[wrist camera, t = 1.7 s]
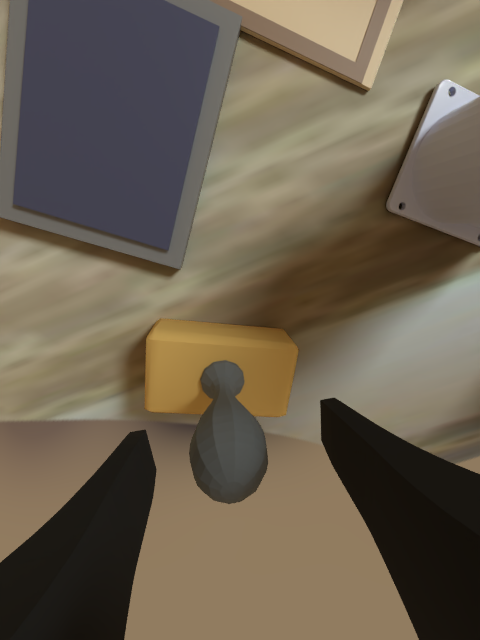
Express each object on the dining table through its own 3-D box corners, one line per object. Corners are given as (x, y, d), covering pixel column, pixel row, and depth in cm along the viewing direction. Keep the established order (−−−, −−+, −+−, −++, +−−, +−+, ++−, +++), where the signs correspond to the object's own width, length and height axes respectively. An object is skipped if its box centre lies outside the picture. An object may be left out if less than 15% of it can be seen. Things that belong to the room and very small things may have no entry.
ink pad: (240, 30, 15) (243, 12, 14) (181, 267, 19) (179, 269, 18) (29, -71, 13) (11, -102, 12) (8, 217, 17) (-8, 215, 16)
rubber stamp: (286, 327, 21) (373, 433, 10) (274, 391, 23) (337, 545, 12) (156, 316, 20) (86, 424, 9) (154, 385, 22) (92, 552, 10)
